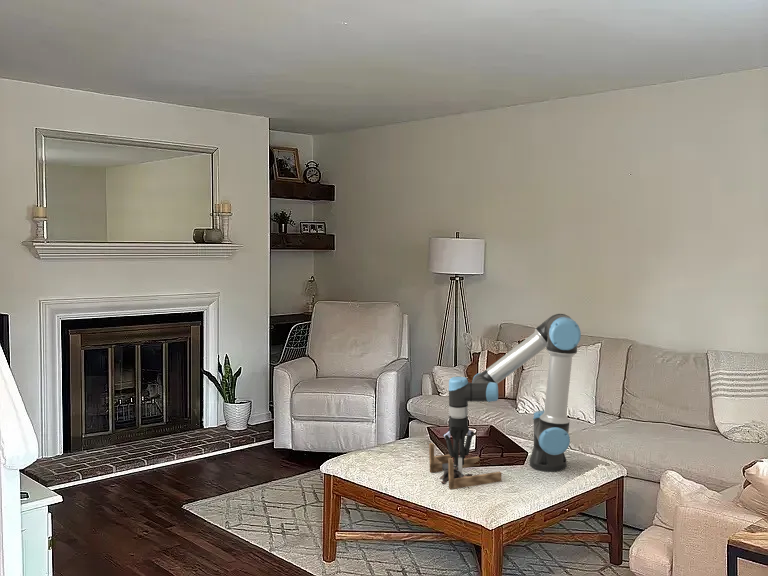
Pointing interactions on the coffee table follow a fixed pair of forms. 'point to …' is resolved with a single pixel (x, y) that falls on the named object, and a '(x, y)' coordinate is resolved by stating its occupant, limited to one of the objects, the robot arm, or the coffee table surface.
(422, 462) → the coffee table surface
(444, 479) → the stuffed animal
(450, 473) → the wooden rail pieces
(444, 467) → the mat
